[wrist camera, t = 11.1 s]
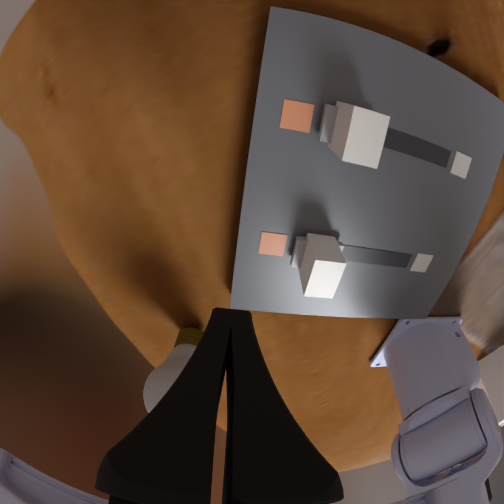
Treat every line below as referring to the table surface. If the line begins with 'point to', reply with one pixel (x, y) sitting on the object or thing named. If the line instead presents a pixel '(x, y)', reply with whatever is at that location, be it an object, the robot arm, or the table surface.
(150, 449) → the robot arm
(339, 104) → the breaker
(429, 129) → the panel
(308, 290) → the breaker on
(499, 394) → the white chamfered block
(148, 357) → the table surface
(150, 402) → the light bulb
